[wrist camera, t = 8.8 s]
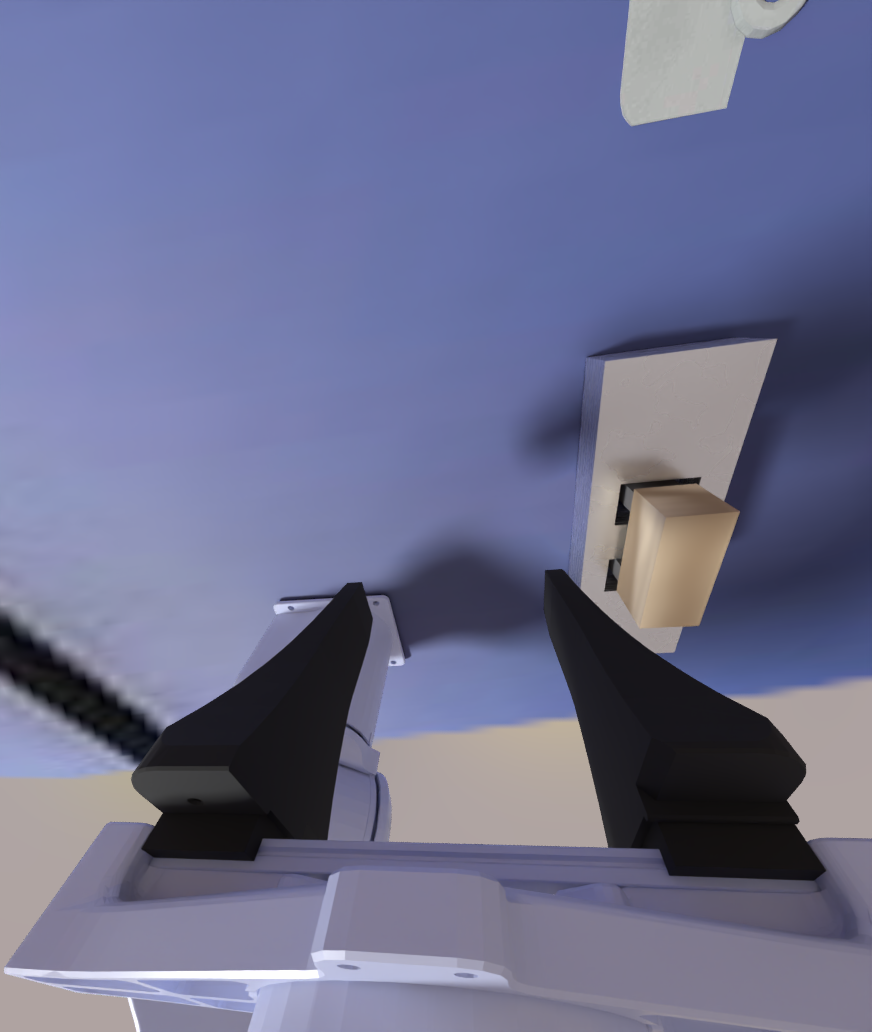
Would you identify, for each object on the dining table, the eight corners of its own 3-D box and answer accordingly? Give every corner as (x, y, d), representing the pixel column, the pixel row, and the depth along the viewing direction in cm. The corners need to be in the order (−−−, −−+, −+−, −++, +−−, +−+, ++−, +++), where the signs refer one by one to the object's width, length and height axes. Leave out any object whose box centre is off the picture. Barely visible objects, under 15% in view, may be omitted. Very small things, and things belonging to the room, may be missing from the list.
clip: (598, 561, 23) (639, 628, 18) (611, 468, 20) (665, 517, 15) (643, 558, 23) (698, 625, 18) (664, 462, 19) (739, 511, 14)
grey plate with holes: (563, 629, 27) (573, 656, 24) (586, 357, 17) (605, 361, 15) (656, 625, 26) (674, 652, 24) (734, 337, 16) (777, 338, 14)
